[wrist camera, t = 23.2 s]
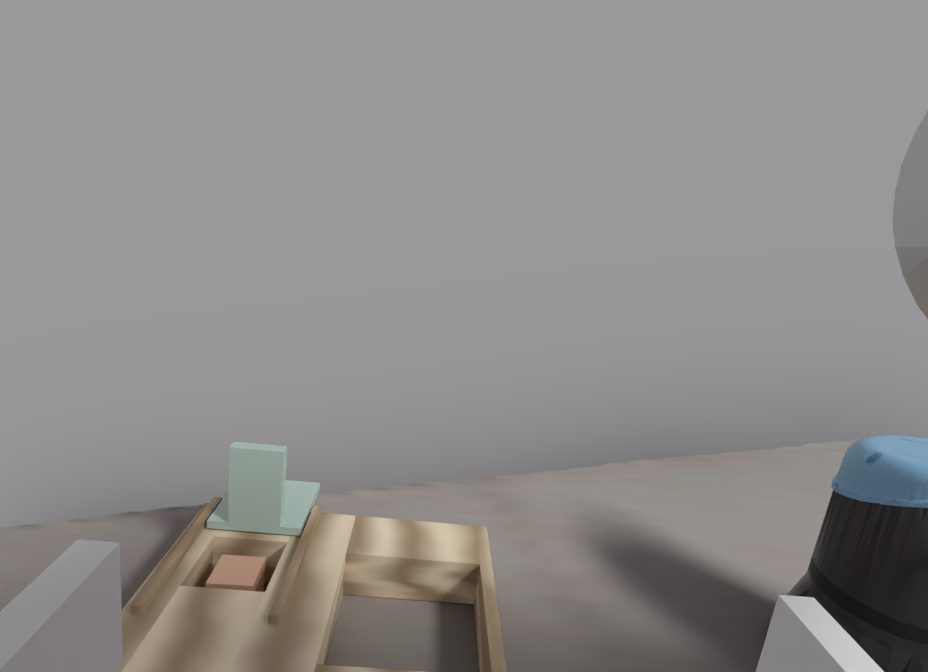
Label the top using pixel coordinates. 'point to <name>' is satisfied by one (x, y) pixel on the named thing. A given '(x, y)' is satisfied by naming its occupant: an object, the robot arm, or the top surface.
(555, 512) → the top surface
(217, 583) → the block
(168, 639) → the puzzle board
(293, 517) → the cover
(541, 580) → the top surface
